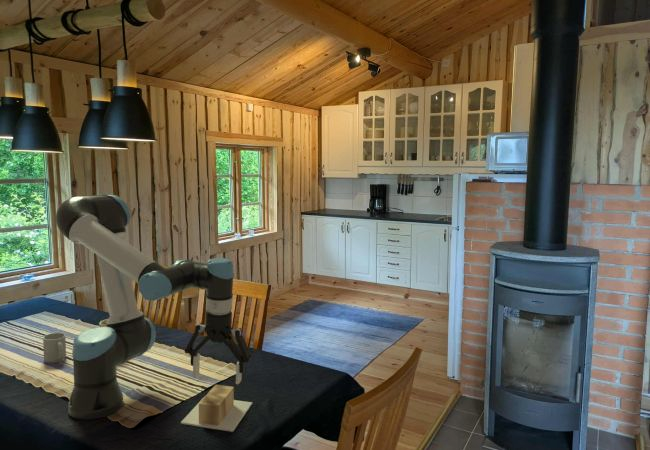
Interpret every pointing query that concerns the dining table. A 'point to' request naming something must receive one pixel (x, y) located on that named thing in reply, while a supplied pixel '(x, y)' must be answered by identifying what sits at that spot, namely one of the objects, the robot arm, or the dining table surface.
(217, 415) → the oak block
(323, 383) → the dining table surface
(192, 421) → the cream square board
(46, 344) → the cup
